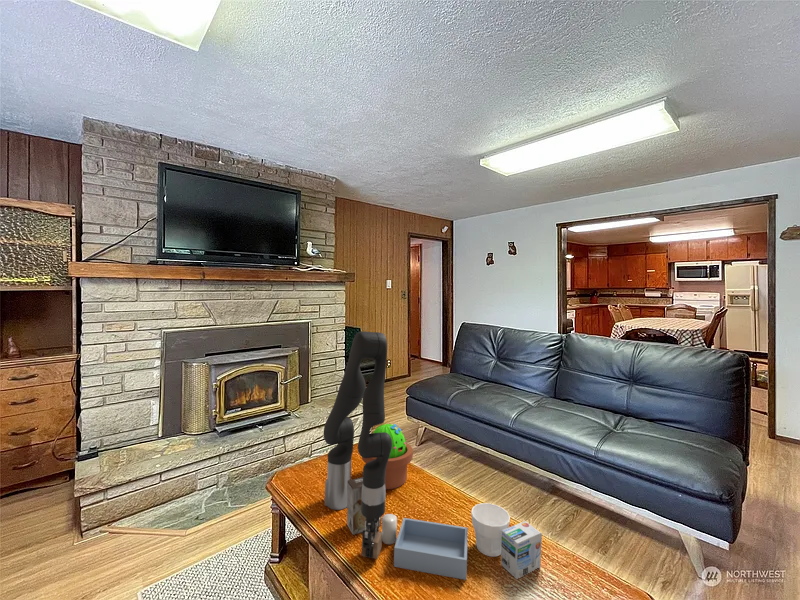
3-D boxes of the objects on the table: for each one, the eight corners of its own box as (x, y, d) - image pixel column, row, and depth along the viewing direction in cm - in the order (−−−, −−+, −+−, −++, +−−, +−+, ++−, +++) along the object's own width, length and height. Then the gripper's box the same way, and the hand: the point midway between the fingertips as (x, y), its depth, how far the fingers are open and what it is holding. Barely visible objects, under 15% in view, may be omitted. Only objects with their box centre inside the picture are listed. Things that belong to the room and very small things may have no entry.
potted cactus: (351, 479, 155) (352, 423, 155) (385, 462, 172) (386, 411, 171) (387, 499, 141) (389, 437, 140) (421, 478, 157) (422, 423, 157)
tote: (393, 566, 106) (394, 547, 106) (403, 534, 120) (403, 517, 120) (466, 579, 102) (466, 560, 101) (467, 545, 116) (467, 527, 116)
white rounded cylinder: (380, 542, 116) (380, 522, 116) (383, 532, 121) (384, 512, 121) (394, 545, 115) (395, 524, 115) (397, 535, 120) (398, 515, 120)
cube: (361, 556, 108) (362, 540, 108) (366, 544, 113) (366, 529, 113) (377, 559, 107) (377, 543, 107) (381, 547, 112) (382, 532, 112)
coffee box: (370, 517, 129) (371, 474, 129) (377, 528, 123) (378, 482, 123) (346, 524, 125) (347, 479, 124) (352, 535, 119) (353, 488, 119)
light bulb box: (516, 580, 102) (517, 543, 102) (499, 564, 108) (500, 530, 108) (541, 567, 107) (542, 532, 107) (524, 553, 113) (525, 519, 113)
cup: (503, 567, 106) (504, 531, 106) (464, 551, 113) (465, 517, 113) (513, 543, 117) (514, 510, 117) (477, 529, 124) (478, 498, 123)
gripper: (368, 483, 117) (367, 533, 118) (354, 508, 103) (352, 565, 104) (390, 486, 116) (388, 537, 116) (378, 513, 102) (377, 570, 102)
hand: (371, 550), depth 110 cm, fingers closed on cube, 5 cm apart
